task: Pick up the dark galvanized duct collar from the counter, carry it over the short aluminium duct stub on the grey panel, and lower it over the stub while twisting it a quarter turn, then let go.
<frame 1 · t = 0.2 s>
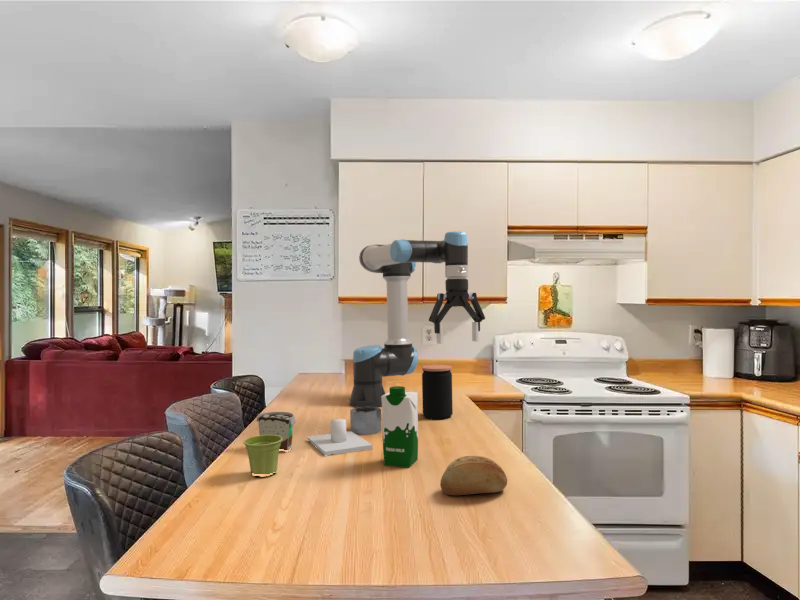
hand: (457, 342, 178), 28 cm above the counter, tool pointing down, fingers open, 13 cm apart
collar: (365, 431, 174), on the counter
coffee jar: (437, 417, 192), on the counter
bread roll: (474, 494, 118), on the counter
food container: (280, 448, 156), on the counter
milk carton: (401, 463, 140), on the counter
plant pot: (263, 475, 133), on the counter
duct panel: (338, 444, 158), on the counter
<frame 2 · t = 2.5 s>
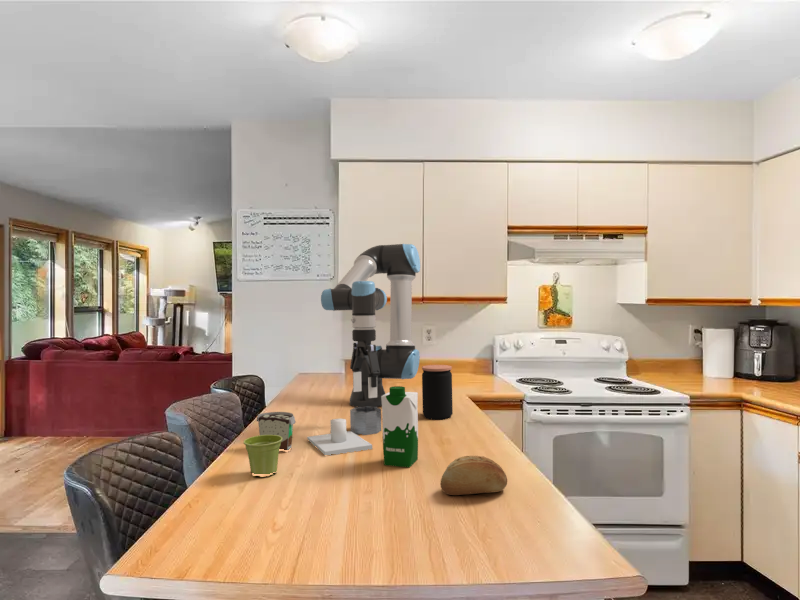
hand: (364, 394, 173), 12 cm above the counter, tool pointing down, fingers open, 13 cm apart
nothing on the counter moved.
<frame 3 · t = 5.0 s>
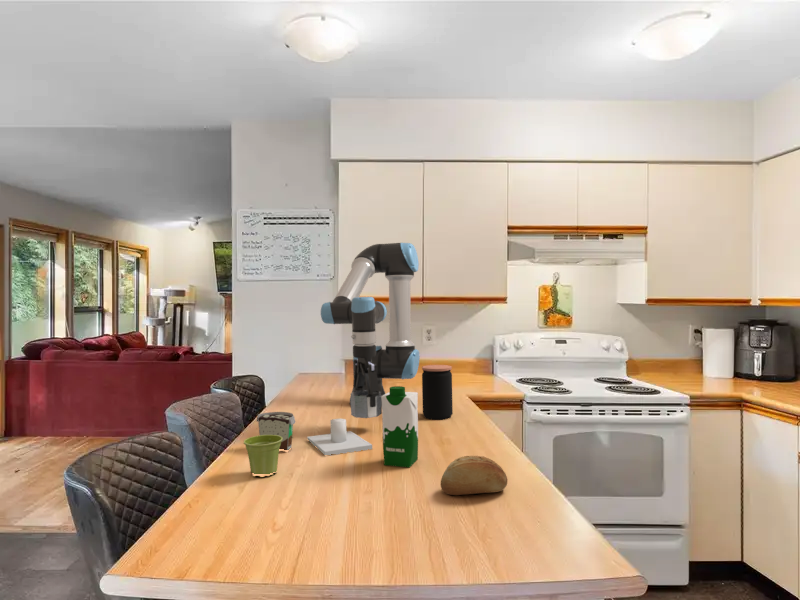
hand: (366, 413, 174), 6 cm above the counter, tool pointing down, fingers closed on collar, 9 cm apart
collar: (366, 414, 174), point 5 cm above the counter, touching gripper
everything else where it was.
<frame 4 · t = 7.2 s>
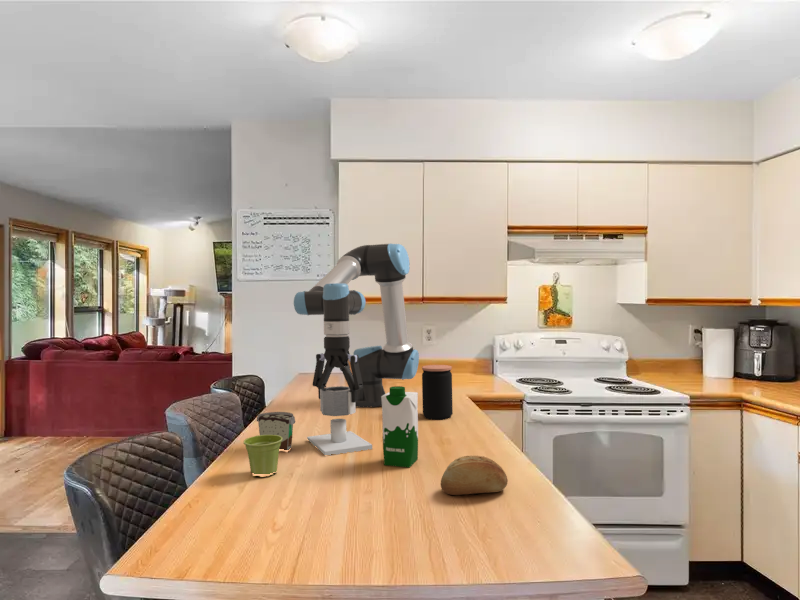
hand: (337, 411, 158), 10 cm above the counter, tool pointing down, fingers closed on collar, 9 cm apart
collar: (338, 412, 158), point 10 cm above the counter, touching gripper
everything else where it was.
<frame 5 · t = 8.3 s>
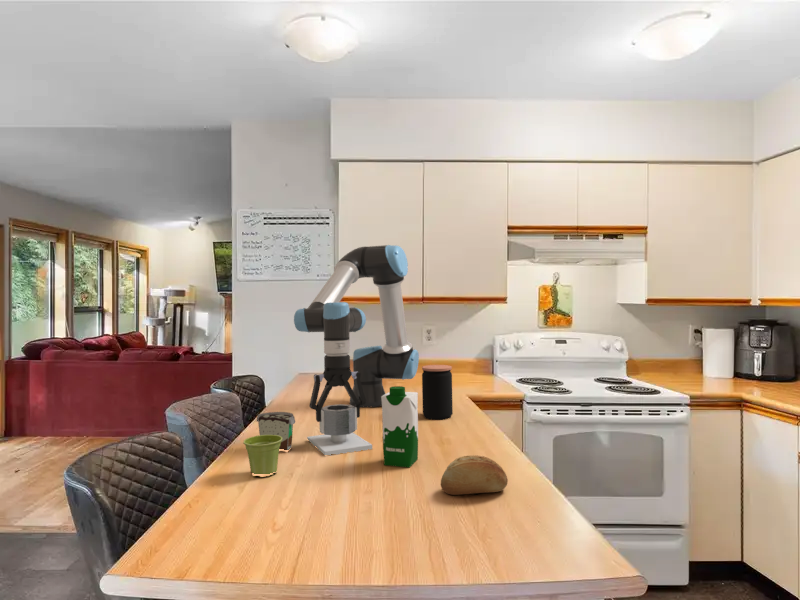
hand: (338, 430, 158), 4 cm above the counter, tool pointing down, fingers closed on collar, 9 cm apart
collar: (338, 431, 158), point 4 cm above the counter, touching gripper
everything else where it was.
when the fingers open (4 cm above the counter, at t = 9.3 s): collar drops 2 cm, resting on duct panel.
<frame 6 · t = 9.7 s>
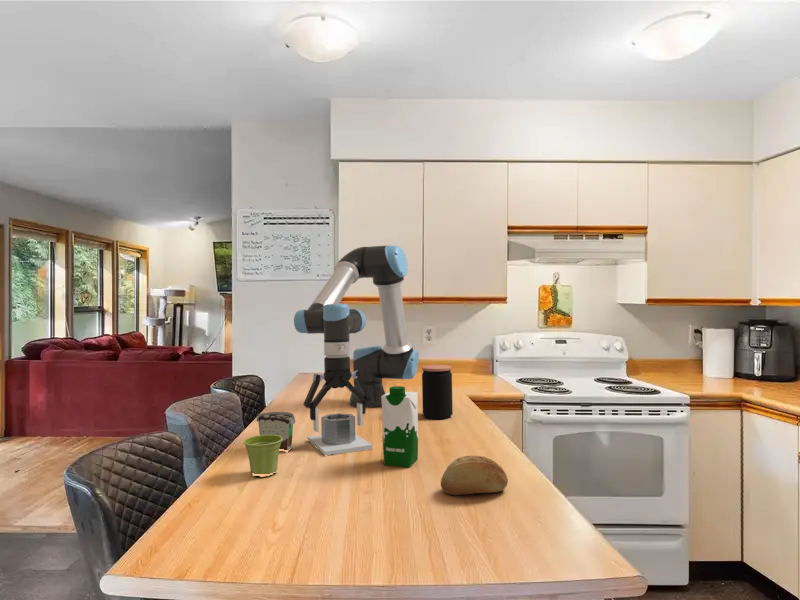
hand: (338, 428, 158), 5 cm above the counter, tool pointing down, fingers open, 13 cm apart
collar: (338, 440, 158), point 1 cm above the counter, touching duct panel
everything else where it was.
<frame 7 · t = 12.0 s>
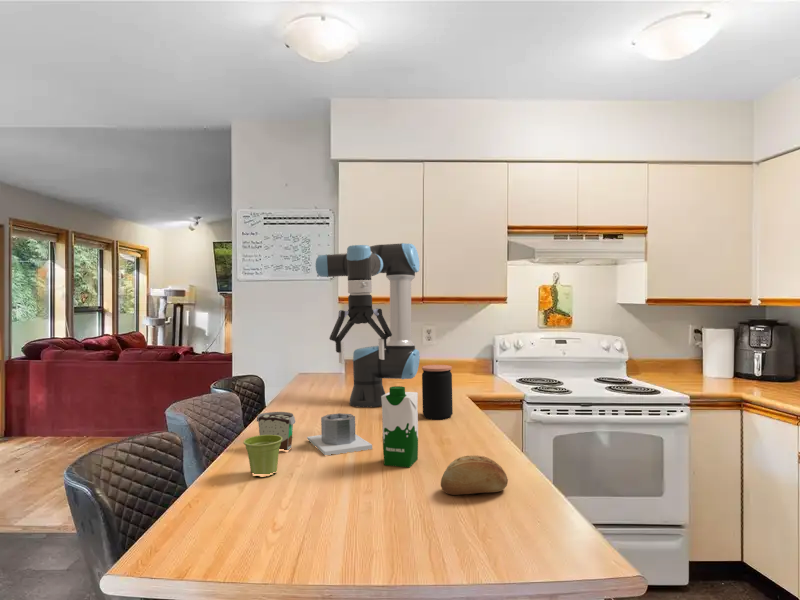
hand: (362, 361, 170), 23 cm above the counter, tool pointing down, fingers open, 13 cm apart
nothing on the counter moved.
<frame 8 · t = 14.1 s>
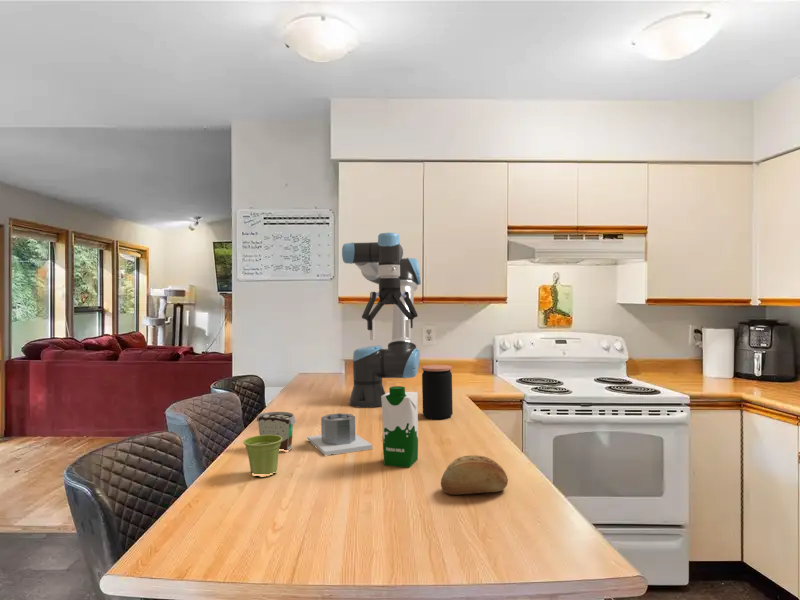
hand: (390, 338, 186), 29 cm above the counter, tool pointing down, fingers open, 13 cm apart
nothing on the counter moved.
at the end: collar 0.1 cm off-centre on the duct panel, point 1.2 cm above the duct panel's base; the gripper is holding nothing; collar tilted 0° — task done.
